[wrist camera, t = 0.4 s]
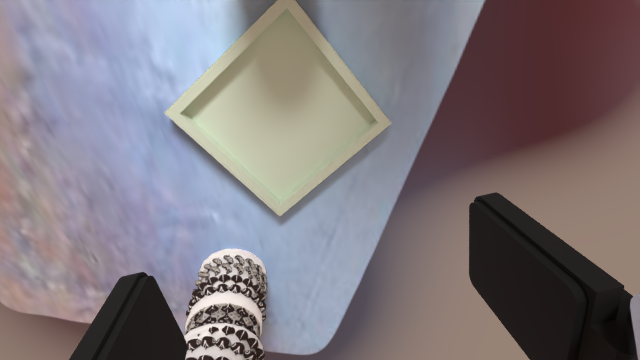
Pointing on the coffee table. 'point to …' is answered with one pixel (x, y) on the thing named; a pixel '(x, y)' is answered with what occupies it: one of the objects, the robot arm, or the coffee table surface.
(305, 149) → the tray
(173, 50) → the coffee table surface
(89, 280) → the coffee table surface
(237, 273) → the decorative candle
